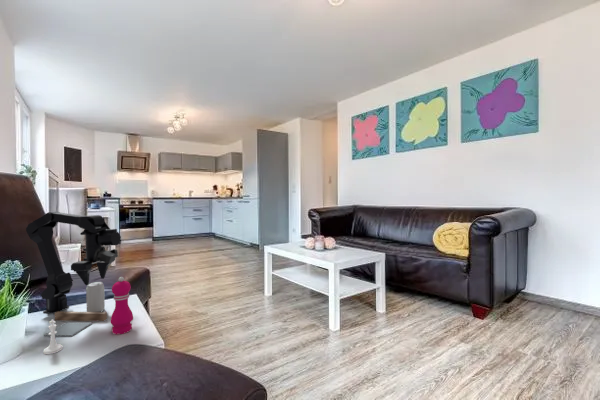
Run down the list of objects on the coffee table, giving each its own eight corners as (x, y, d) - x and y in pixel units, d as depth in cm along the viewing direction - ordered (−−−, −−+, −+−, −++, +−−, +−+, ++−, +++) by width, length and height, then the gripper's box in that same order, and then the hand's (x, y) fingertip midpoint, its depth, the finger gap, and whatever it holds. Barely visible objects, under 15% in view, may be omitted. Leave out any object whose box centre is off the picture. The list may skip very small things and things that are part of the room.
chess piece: (50, 346, 100) (49, 316, 100) (66, 345, 100) (65, 316, 100) (39, 354, 95) (38, 323, 95) (55, 353, 96) (54, 322, 95)
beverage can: (95, 315, 125) (95, 286, 125) (82, 313, 126) (82, 285, 126) (108, 309, 131) (107, 281, 131) (95, 308, 133) (95, 281, 132)
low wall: (54, 320, 120) (54, 313, 120) (58, 318, 122) (57, 311, 121) (104, 321, 119) (104, 313, 119) (106, 319, 121) (106, 312, 121)
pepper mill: (109, 336, 107) (108, 280, 106) (111, 328, 113) (110, 275, 112) (133, 332, 110) (132, 278, 109) (133, 324, 116) (132, 273, 116)
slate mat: (44, 336, 107) (44, 334, 107) (66, 323, 117) (66, 322, 117) (71, 336, 107) (71, 335, 107) (91, 324, 117) (91, 322, 117)
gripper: (96, 249, 118) (97, 288, 118) (126, 241, 137) (127, 275, 137) (69, 249, 118) (70, 288, 119) (102, 241, 137) (103, 275, 138)
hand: (95, 281), depth 128 cm, fingers open, 9 cm apart
